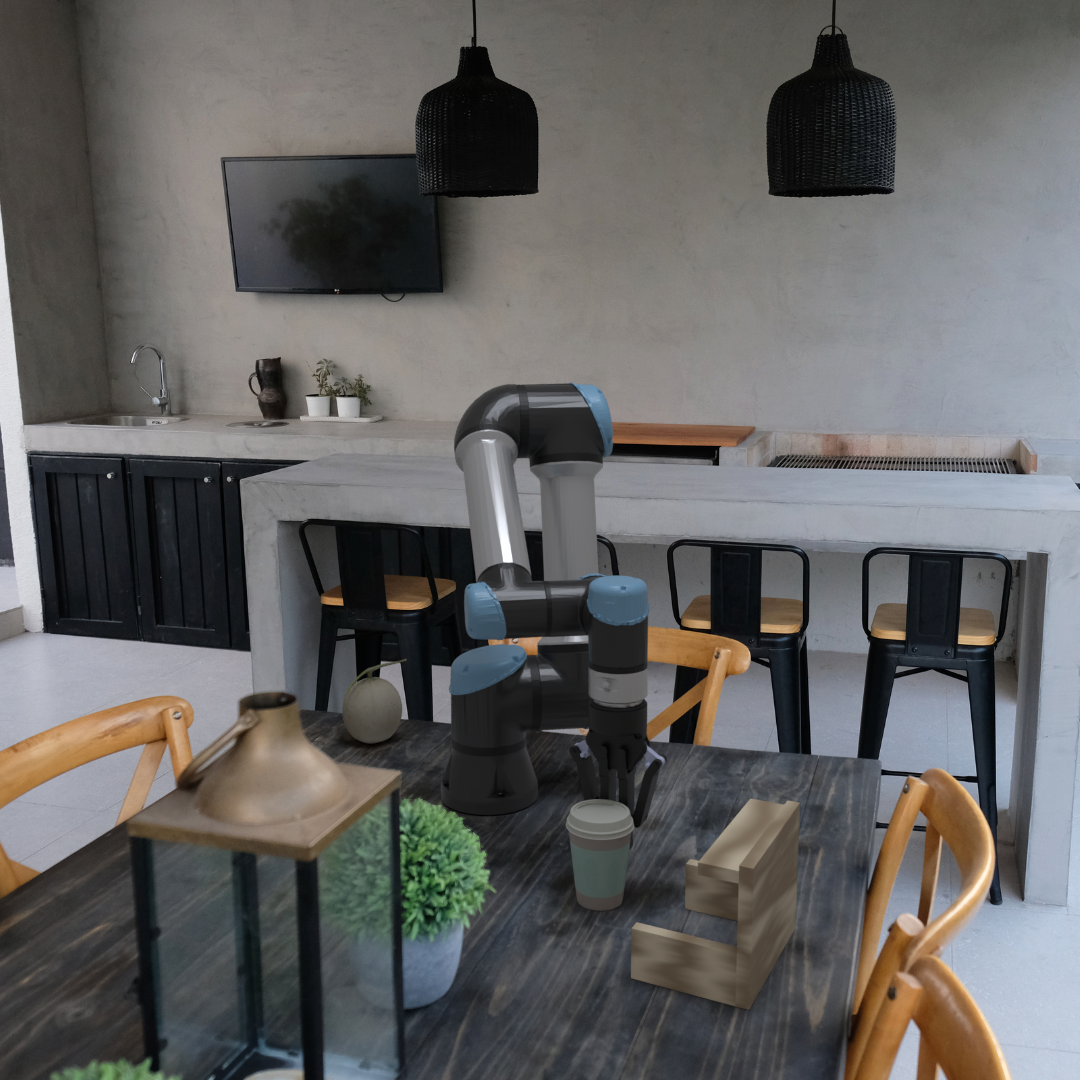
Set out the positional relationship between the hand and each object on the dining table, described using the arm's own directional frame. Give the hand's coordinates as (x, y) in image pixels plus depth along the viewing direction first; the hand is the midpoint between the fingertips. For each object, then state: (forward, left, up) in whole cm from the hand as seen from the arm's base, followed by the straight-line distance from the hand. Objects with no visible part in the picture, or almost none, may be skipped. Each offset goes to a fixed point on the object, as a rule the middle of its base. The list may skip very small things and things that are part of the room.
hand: (616, 871), depth 147 cm
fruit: (-60, +29, -2) cm, 67 cm away
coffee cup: (0, -5, -2) cm, 6 cm away
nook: (+18, -11, -2) cm, 21 cm away
